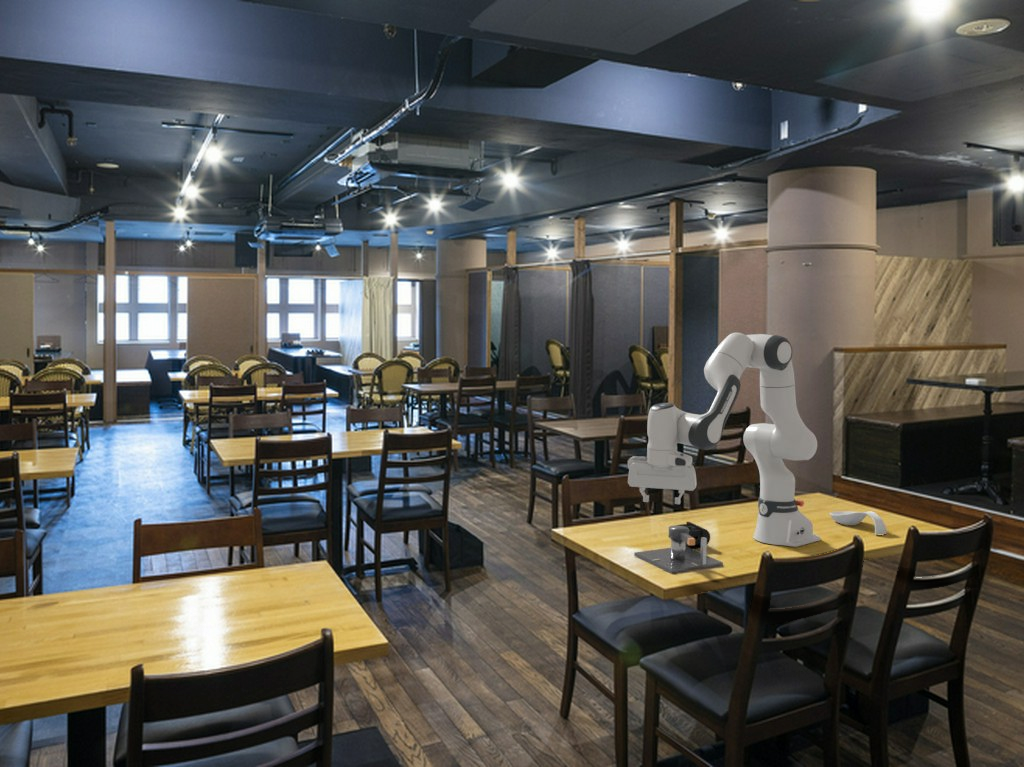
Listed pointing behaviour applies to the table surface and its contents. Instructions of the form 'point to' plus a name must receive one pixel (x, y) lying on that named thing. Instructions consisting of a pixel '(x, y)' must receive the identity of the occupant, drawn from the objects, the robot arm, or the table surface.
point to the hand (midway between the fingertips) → (661, 502)
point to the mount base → (676, 563)
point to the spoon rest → (859, 519)
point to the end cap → (696, 534)
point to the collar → (681, 534)
